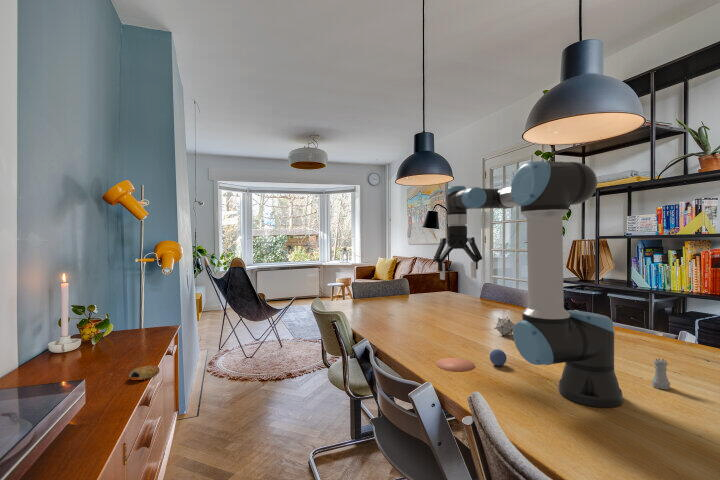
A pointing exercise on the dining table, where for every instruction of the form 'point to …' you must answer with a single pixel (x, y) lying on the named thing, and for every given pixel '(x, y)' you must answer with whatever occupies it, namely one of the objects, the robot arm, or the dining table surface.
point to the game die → (505, 326)
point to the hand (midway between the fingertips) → (458, 278)
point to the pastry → (145, 372)
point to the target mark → (455, 364)
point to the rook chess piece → (660, 375)
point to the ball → (498, 357)
